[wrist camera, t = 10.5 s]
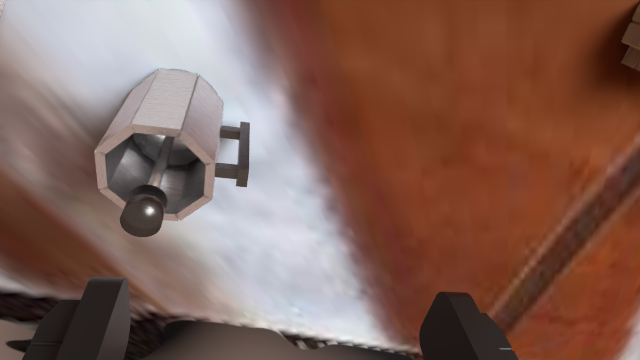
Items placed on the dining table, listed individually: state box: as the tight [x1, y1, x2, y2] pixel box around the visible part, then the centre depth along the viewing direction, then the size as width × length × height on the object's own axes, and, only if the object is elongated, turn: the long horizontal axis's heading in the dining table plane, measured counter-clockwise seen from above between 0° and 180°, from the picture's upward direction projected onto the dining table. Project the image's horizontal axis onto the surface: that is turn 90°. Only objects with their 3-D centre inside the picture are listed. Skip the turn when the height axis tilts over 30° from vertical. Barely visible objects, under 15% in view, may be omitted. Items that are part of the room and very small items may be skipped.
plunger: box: [120, 133, 198, 237], centre depth 39 cm, size 8×8×15 cm
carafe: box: [94, 69, 250, 221], centre depth 44 cm, size 10×13×14 cm
